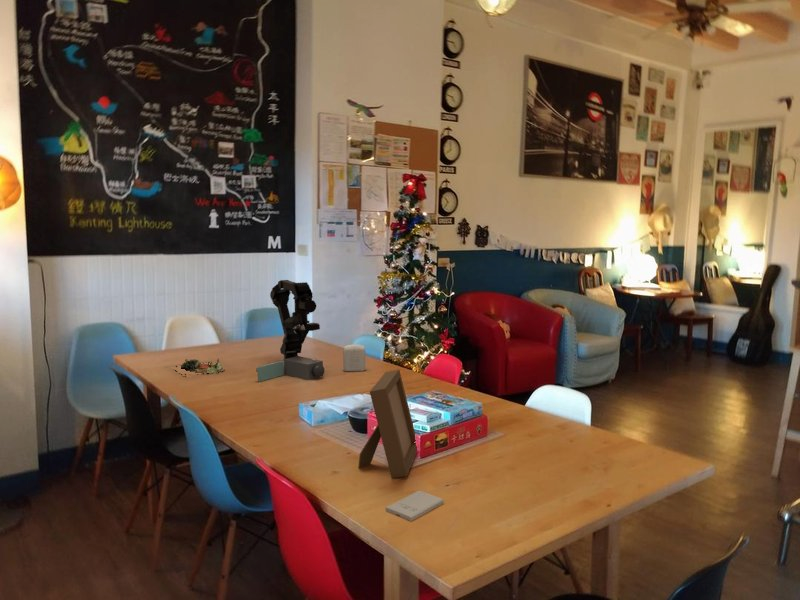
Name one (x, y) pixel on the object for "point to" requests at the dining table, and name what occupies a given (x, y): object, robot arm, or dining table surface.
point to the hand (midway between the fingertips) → (301, 343)
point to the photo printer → (354, 358)
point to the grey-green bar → (270, 371)
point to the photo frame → (391, 426)
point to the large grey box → (303, 367)
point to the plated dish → (202, 366)
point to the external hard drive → (414, 505)
